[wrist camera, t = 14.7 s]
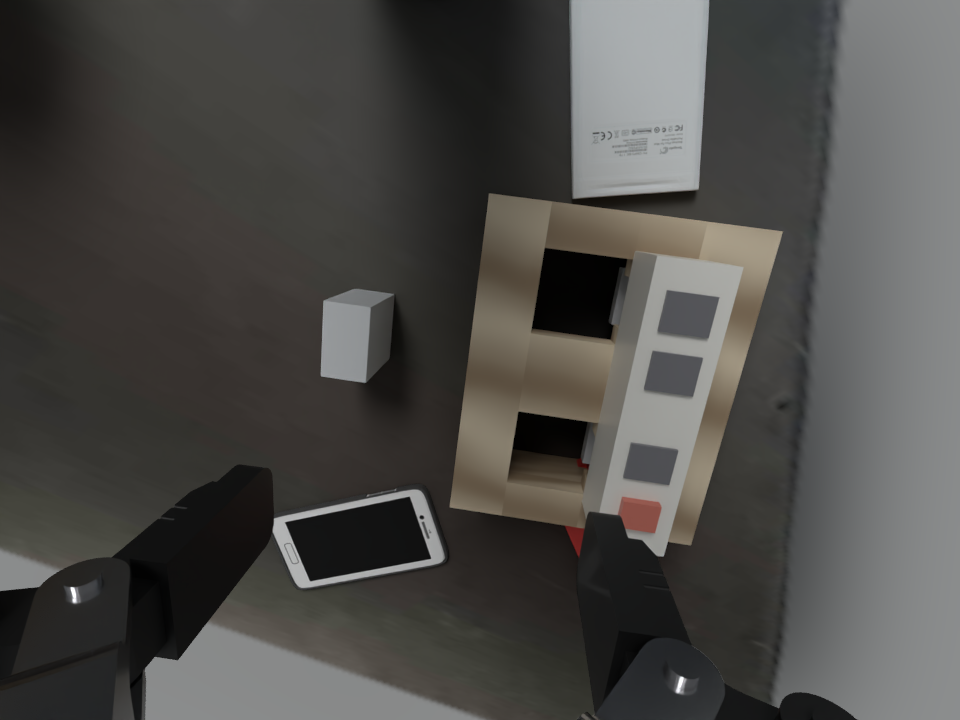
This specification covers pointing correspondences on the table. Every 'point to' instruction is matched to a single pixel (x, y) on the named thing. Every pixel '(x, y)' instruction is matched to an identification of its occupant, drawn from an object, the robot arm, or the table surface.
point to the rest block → (356, 334)
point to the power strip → (656, 389)
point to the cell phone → (360, 537)
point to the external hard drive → (636, 95)
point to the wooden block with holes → (580, 353)
